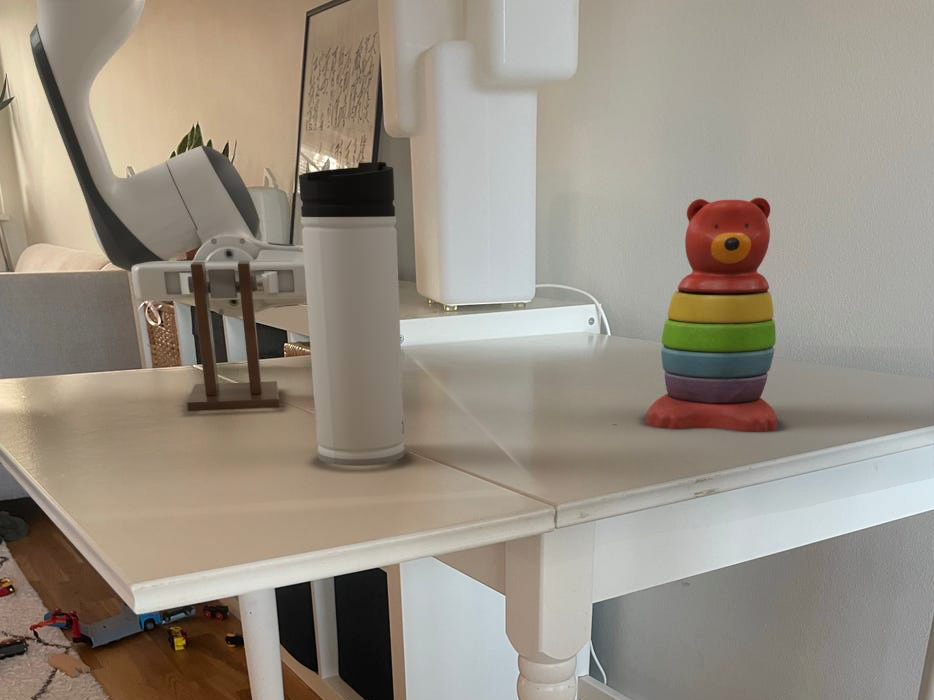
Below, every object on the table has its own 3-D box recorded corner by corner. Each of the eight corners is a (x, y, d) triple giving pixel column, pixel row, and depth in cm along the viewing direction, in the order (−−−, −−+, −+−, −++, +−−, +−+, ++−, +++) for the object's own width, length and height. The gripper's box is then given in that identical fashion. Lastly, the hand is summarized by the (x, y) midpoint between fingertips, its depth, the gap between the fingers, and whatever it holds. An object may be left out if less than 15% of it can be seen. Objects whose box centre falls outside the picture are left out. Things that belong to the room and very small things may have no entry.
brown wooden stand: (195, 399, 96) (178, 260, 90) (278, 396, 97) (266, 259, 92) (189, 419, 87) (169, 266, 81) (280, 415, 88) (266, 264, 83)
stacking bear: (643, 431, 81) (659, 197, 74) (651, 408, 90) (665, 198, 83) (777, 436, 79) (806, 196, 72) (771, 413, 88) (797, 197, 81)
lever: (206, 299, 101) (203, 275, 100) (255, 298, 102) (253, 274, 101) (194, 298, 86) (191, 269, 85) (252, 297, 87) (249, 268, 86)
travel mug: (424, 460, 72) (415, 161, 64) (370, 480, 67) (354, 157, 59) (357, 450, 75) (340, 163, 67) (301, 468, 70) (276, 160, 62)
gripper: (133, 247, 108) (118, 254, 96) (318, 245, 112) (326, 251, 100) (141, 306, 111) (128, 320, 99) (321, 302, 115) (330, 315, 103)
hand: (229, 286), depth 99 cm, fingers closed on lever, 5 cm apart
